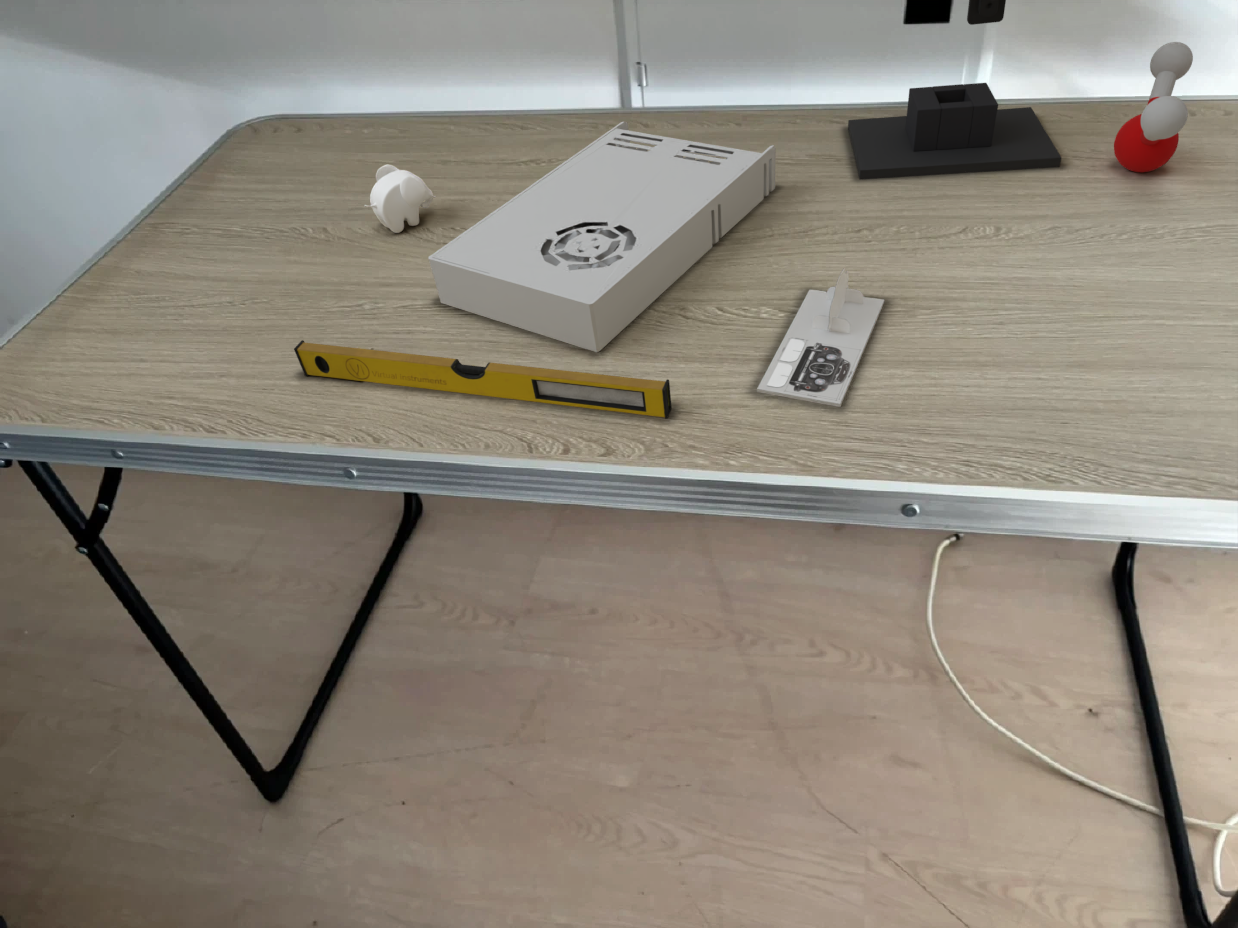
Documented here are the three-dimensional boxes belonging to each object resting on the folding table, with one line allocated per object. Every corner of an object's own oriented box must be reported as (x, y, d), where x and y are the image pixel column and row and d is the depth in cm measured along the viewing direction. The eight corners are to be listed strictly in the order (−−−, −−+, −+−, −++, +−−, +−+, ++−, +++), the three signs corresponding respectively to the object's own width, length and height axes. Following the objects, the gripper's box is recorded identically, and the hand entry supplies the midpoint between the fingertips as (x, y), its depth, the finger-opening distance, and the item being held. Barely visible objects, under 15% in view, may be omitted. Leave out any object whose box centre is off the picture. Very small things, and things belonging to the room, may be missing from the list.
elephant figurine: (452, 219, 101) (440, 167, 97) (388, 247, 98) (372, 195, 94) (422, 200, 105) (409, 150, 101) (360, 227, 102) (344, 176, 98)
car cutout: (809, 293, 83) (810, 248, 80) (884, 303, 80) (888, 258, 77) (756, 393, 73) (756, 346, 70) (840, 408, 71) (843, 361, 68)
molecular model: (1163, 213, 86) (1197, 107, 80) (1098, 206, 88) (1125, 102, 82) (1174, 135, 97) (1204, 36, 91) (1116, 130, 100) (1141, 33, 93)
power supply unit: (776, 189, 98) (776, 143, 95) (599, 354, 79) (591, 305, 76) (629, 161, 107) (624, 119, 104) (439, 304, 88) (426, 257, 85)
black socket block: (980, 123, 102) (986, 82, 99) (991, 146, 97) (998, 104, 94) (905, 128, 103) (909, 87, 100) (913, 151, 99) (917, 109, 96)
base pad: (1029, 117, 104) (1036, 79, 102) (1059, 168, 95) (1068, 128, 92) (847, 129, 107) (849, 93, 104) (859, 180, 98) (862, 142, 95)
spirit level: (305, 376, 82) (293, 348, 80) (313, 367, 83) (301, 339, 81) (667, 420, 72) (664, 389, 70) (672, 409, 73) (669, 379, 71)
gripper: (1073, -197, 73) (1036, 31, 84) (1021, -225, 86) (995, -23, 97) (973, -184, 74) (950, 39, 85) (937, -213, 87) (921, -15, 98)
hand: (974, 6), depth 91 cm, fingers open, 9 cm apart
